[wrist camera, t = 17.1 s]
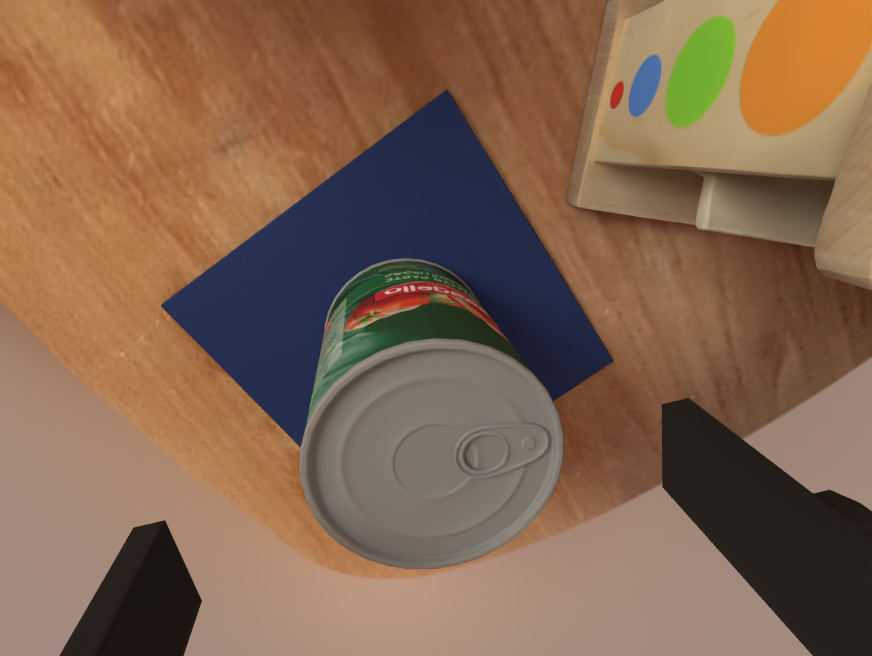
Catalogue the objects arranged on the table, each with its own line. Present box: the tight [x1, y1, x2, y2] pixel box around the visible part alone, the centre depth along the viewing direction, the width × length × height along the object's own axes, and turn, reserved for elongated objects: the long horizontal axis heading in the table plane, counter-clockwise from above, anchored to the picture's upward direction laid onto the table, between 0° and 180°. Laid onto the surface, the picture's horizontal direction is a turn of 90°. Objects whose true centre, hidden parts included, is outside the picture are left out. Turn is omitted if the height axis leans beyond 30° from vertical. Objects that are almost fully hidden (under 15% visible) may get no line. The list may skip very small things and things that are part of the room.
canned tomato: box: [300, 258, 564, 569], centre depth 20 cm, size 8×8×11 cm
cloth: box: [161, 90, 613, 447], centre depth 25 cm, size 16×16×1 cm
